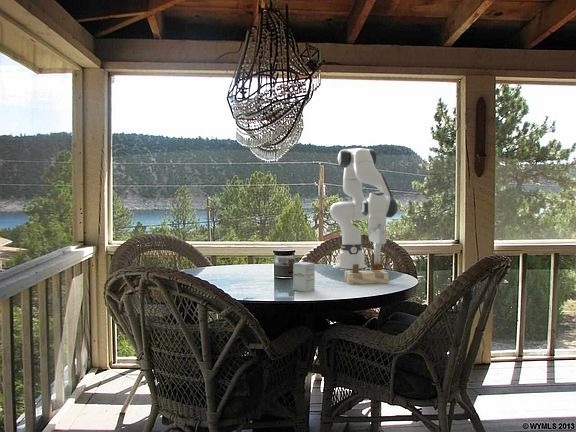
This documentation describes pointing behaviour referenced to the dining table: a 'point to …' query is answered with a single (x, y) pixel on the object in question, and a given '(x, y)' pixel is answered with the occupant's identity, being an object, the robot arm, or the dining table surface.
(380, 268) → the condiment
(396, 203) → the robot arm
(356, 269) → the walnut peg
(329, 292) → the dining table surface
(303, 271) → the supplement box
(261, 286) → the dining table surface
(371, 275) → the hole block
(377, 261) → the steel peg
